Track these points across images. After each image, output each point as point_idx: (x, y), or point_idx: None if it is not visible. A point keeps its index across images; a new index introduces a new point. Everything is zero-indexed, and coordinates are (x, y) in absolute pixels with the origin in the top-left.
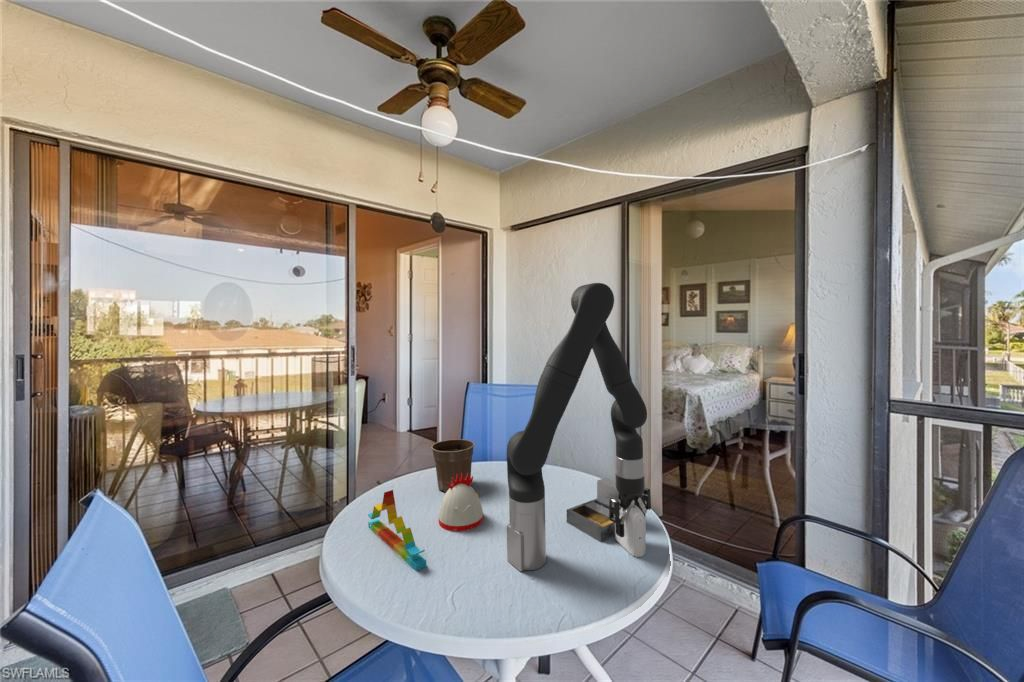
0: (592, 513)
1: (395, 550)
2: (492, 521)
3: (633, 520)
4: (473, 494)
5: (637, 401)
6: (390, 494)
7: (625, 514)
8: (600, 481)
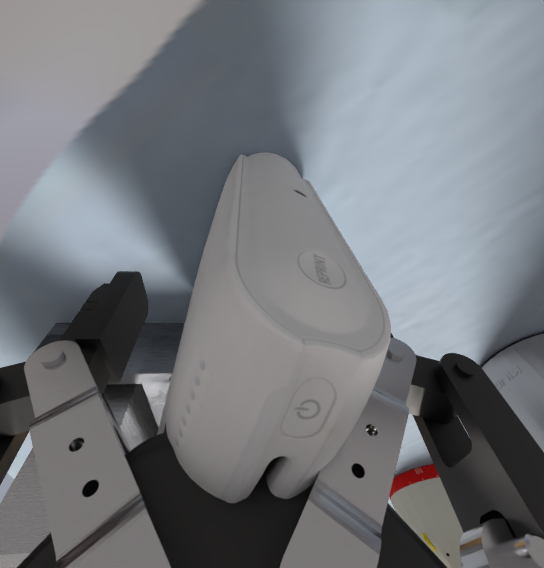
0: None
1: None
2: (401, 465)
3: (387, 316)
4: (458, 552)
5: None
6: None
7: (406, 411)
8: None
